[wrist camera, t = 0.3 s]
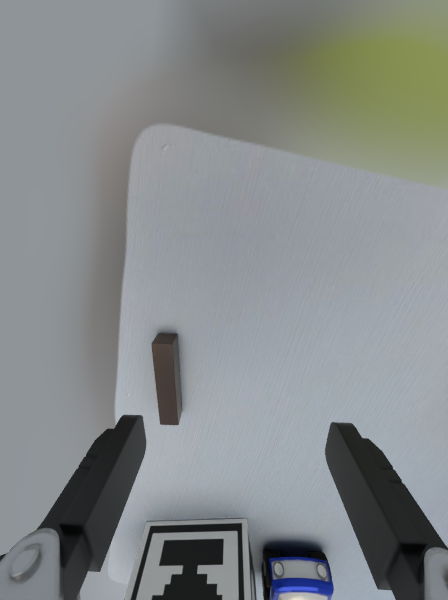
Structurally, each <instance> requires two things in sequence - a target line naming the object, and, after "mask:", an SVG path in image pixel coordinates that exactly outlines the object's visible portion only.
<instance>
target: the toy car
mask: <svg viewBox="0 0 448 600" xmlns="http://www.w3.org/2000/svg"><path fill="white" fill-rule="evenodd" d="M263 560H264V568H262V585H263V596H264V600H331V597H332V594H333V583H332V576H331V571H330V567H329V563H328V560H327V558H326V556H325V554H324V553H323V552H308V558H305V557H280V553H279V551H276V550H264V552H263Z"/></svg>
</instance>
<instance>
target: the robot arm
mask: <svg viewBox="0 0 448 600" xmlns="http://www.w3.org/2000/svg"><path fill="white" fill-rule="evenodd" d="M145 450H146V436H145V429H144V423H143V417H142V416H141V415H123V416H122V417H121V418H120V420H119V421H118V423H117V425H116V427H115V428H114V429H107V430H106V431H105V432H104V433H103V434H101V435H100V436H99V437H98V438H97V439H96V440H95V441H94V443H93V444H92V446H91V448H90V449H89V451H88V452H87V454H86V457H84V459H83V460H82V462H81V463H80V465H79V468H78V469H77V470H76V471H75V473H74V474H73V476H72V477H71V479H70V480H69V482H68V484H67V485H66V487H65V488H64V490H63V491H62V493H61V494H60V496H59V497H58V499H57V501H56V502H55V504H54V505H53V507H52V508H51V510H50V512H49V513H48V515H47V516H46V518H45V519H44V521H43V522H42V523H41V525H40V526H39V527H38V528H37V530H36V531H34V532H32V533H30V534H28V535H27V536H25V537H24V538H23V539H21V540H20V541H19V542H18V543H17V544H16V545H15V546H13V547H12V548H11V549H10V551H9V552H8V553H6V554H4V555H1V556H0V600H80V589H81V587H82V584H83V582H84V579H85V577H86V575H87V572H88V571H95V572H100V570H101V567H102V565H103V562H104V560H105V557H106V554H107V552H108V549H109V547H110V544H111V541H112V539H113V536H114V533H115V531H116V528H117V526H118V523H119V520H120V518H121V515H122V513H123V510H124V507H125V505H126V502H127V500H128V497H129V494H130V492H131V489H132V487H133V484H134V481H135V479H136V476H137V473H138V471H139V468H140V466H141V463H142V460H143V458H144V454H145ZM325 455H326V461H327V464H328V467H329V470H330V472H331V475H332V477H333V480H334V482H335V484H336V487H337V489H338V492H339V494H340V497H341V499H342V502H343V504H344V507H345V509H346V512H347V514H348V517H349V519H350V522H351V524H352V527H353V529H354V532H355V534H356V537H357V539H358V541H359V544H360V546H361V549H362V551H363V554H364V556H365V559H366V561H367V564H368V566H369V569H370V571H371V574H372V576H373V579H374V581H375V584H376V586H377V589H381V590H392V592H393V594H394V597H395V599H396V600H448V548H447V546H446V545H445V544H444V542H443V541H442V540H441V538H440V537H439V535H438V534H437V532H436V531H435V529H434V528H433V526H432V525H431V523H430V522H429V520H428V519H427V517H426V516H425V514H424V513H423V511H422V510H421V508H420V507H419V505H418V504H417V503H416V501H415V500H414V498H413V497H412V495H411V494H410V492H409V491H408V489H407V488H406V486H405V485H404V484H403V483H402V480H401V479H400V477H399V476H398V474H397V473H396V471H395V470H393V467H392V465H391V464H390V462H389V461H388V459H387V458H386V456H385V455H384V453H383V452H382V451H381V450H380V449H379V448H378V447H377V446H376V445H375V444H374V443H373V442H371V441H370V440H369V439H365V438H362V437H361V436H360V434H359V432H358V431H357V429H356V428H355V426H354V425H353V424H352V423H335V422H332V423H331V425H330V429H329V433H328V438H327V443H326V448H325Z"/></svg>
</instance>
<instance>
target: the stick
mask: <svg viewBox="0 0 448 600" xmlns="http://www.w3.org/2000/svg"><path fill="white" fill-rule="evenodd" d="M152 352H153V362H154V371H155V380H156V389H157V399H158V408H159V417H160V424H161V425H179V421H180V417H181V413H182V399H181V383H180V367H179V351H178V335H177V334H158V335H157V336H156V338H155V339H154V341H153V342H152Z"/></svg>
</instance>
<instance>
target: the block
mask: <svg viewBox="0 0 448 600" xmlns="http://www.w3.org/2000/svg"><path fill="white" fill-rule="evenodd" d="M124 600H256V585H255V572H254V565H253V558H252V551H251V544H250V538H249V531H248V524H247V518H245V519H214V520H184V521H153V522H146V525H145V529H144V532H143V536H142V539H141V543H140V546H139V550H138V553H137V557H136V560H135V564H134V567H133V571H132V574H131V577H130V581H129V584H128V588H127V591H126V595H125V599H124Z"/></svg>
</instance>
